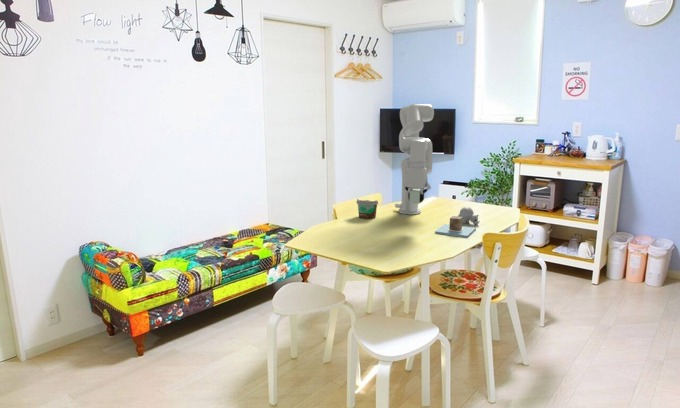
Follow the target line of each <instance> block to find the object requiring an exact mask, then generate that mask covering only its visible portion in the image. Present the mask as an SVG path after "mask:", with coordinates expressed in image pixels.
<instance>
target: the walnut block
mask: <svg viewBox="0 0 680 408" xmlns="http://www.w3.org/2000/svg"><path fill="white" fill-rule="evenodd" d="M462 221H463V217H458V215H452V216H451V217H449V224H448V225H449V230H455V231H460V230H461V229H462V226H463V223H462Z"/></svg>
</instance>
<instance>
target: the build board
mask: <svg viewBox="0 0 680 408" xmlns="http://www.w3.org/2000/svg"><path fill="white" fill-rule="evenodd" d="M449 225H450V224H448V223H445V224H443V225H441V226H440V227H439V228H438V229H436V230H435V231H434V234H437V235H444V236H446V235H447V236H453V237H457V238H459V237H460V238H467V239H468V238H469V237H470V236H472V234H473V233H474V232H475V231H476V230H477V228H476V227H471V226H470V227H469V226H464V225H462V229H461V230H460V231H455V230H449Z"/></svg>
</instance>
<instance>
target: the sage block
mask: <svg viewBox="0 0 680 408" xmlns="http://www.w3.org/2000/svg"><path fill="white" fill-rule="evenodd" d="M420 194H421V191H420V189H412V190H410V200H409V203H417V204H418V205H419V204H421V203H422V202H420Z"/></svg>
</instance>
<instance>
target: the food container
mask: <svg viewBox="0 0 680 408" xmlns="http://www.w3.org/2000/svg"><path fill="white" fill-rule="evenodd" d="M356 204H357V208H358V209H357V210H358V218H359V219H362V220H373V219H376V216H377V215H376V214H377V208H378V205H379V201H378V200H367V199H366V200H365V199H364V200H359V198H357V199H356Z"/></svg>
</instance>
